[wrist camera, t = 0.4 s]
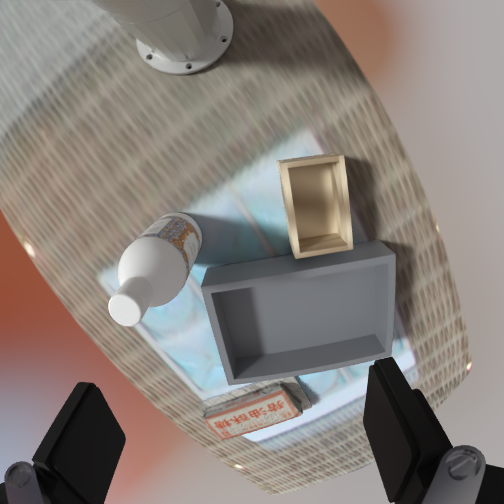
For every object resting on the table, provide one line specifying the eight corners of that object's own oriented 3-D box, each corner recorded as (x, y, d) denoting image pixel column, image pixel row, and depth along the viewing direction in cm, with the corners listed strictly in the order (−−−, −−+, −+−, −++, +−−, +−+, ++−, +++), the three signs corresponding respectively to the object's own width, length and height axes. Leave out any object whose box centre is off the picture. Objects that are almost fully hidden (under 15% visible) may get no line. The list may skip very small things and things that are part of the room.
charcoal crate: (207, 268, 43) (200, 287, 37) (378, 239, 42) (395, 253, 36) (230, 360, 48) (228, 385, 43) (378, 333, 47) (391, 355, 41)
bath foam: (205, 260, 43) (173, 349, 24) (156, 262, 43) (97, 345, 24) (201, 210, 41) (159, 269, 22) (150, 213, 41) (77, 270, 22)
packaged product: (224, 448, 50) (193, 419, 48) (225, 430, 55) (197, 400, 52) (315, 420, 48) (292, 385, 45) (311, 401, 52) (289, 366, 49)
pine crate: (276, 160, 39) (281, 163, 33) (330, 153, 38) (343, 155, 33) (289, 243, 42) (295, 258, 37) (340, 234, 42) (353, 249, 36)
